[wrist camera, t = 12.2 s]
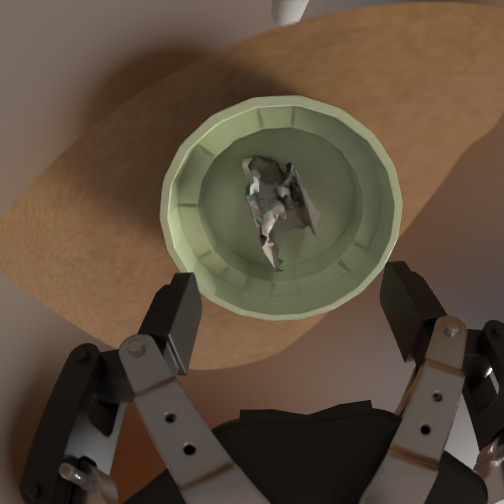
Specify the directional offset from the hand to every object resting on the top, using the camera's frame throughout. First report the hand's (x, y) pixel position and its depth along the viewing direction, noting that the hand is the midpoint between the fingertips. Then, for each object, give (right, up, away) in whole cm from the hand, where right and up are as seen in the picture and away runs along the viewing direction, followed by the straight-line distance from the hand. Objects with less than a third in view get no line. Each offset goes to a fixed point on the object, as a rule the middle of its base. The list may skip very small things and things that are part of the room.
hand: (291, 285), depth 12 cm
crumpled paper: (+1, +5, +9) cm, 11 cm away
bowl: (+1, +5, +10) cm, 11 cm away
